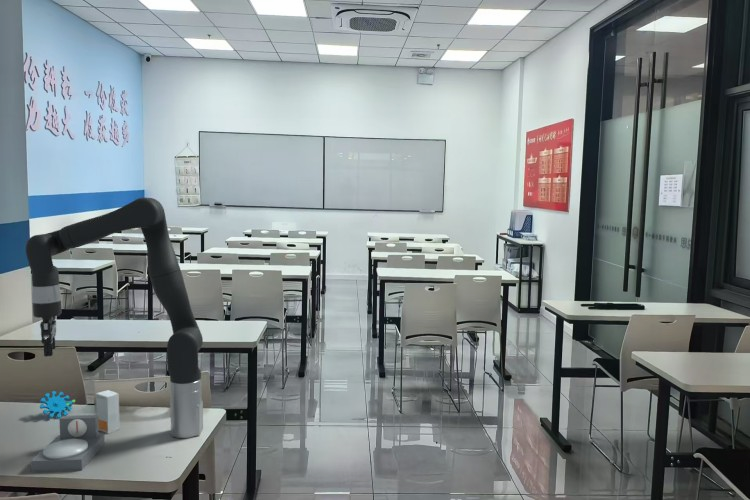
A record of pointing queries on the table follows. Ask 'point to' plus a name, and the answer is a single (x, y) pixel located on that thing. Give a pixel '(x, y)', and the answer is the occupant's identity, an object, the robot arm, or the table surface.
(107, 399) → the skincare box
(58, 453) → the dial scale
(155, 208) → the robot arm
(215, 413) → the table surface
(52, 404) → the gear
